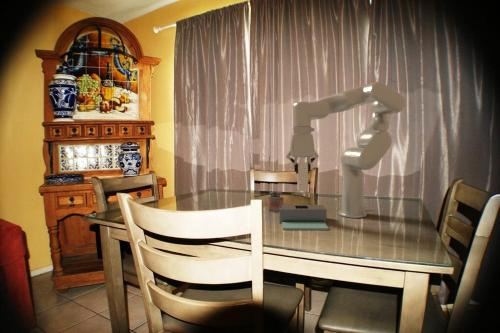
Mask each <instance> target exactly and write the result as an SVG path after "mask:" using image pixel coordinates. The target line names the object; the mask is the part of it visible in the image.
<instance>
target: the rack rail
mask: <svg viewBox="0 0 500 333" xmlns="http://www.w3.org/2000/svg"><path fill="white" fill-rule="evenodd" d="M327 213H328V212H327V208H326V206H324V204H283V205H279V213H278V223H279V224H282V222H325V224H327V215H328V214H327Z"/></svg>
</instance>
